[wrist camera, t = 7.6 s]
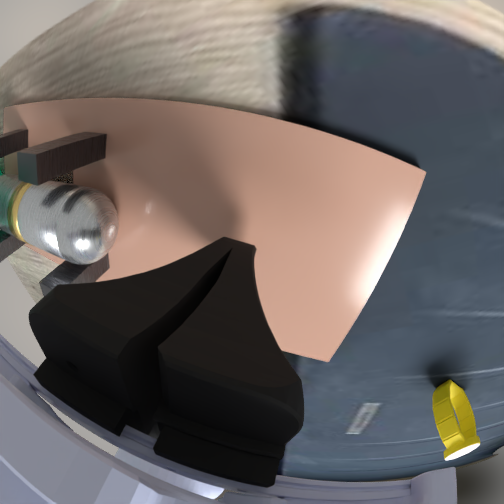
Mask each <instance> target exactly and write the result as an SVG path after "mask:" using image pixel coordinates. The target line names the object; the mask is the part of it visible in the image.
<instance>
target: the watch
mask: <svg viewBox="0 0 504 504" xmlns="http://www.w3.org/2000/svg"><path fill="white" fill-rule="evenodd" d="M452 405H453V406H452ZM453 407H454V409H455V412H456V415H457V418H458V421H459V425H458V422H457V420H456V417H455V415H454V410H453ZM433 412H434V417H435V423H436V424H437V425H436V426H437V429H438V432H439V434H440V437H441V440H443V441H442V442H443V443H444V445H445V446H446V448H447V449H446V450H445V451H444V459H445V460H451V459H454V458H457V457H460V456H462V455H465V454H467V453H469V452H470V451H472V450H474V449H475V448H477V447H478V446H479V445H480V439H479V436H476V424H475V419H474V415H473V411H472V408H471V405H470V402H469V401H468V398H467V396H466V394H465V392H464V390H463V388H460V387H459V386H458V385H456V384H455V383H454V382H453V381H452V380H448V381H446V382H445V383H443V384H442V385H440V386H439V387H437V388H436V390H435V391H434V393H433ZM459 426H460V428H459Z"/></svg>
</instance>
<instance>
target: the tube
mask: <svg viewBox="0 0 504 504" xmlns="http://www.w3.org/2000/svg"><path fill="white" fill-rule="evenodd" d="M0 229H1V230H3V231H5V232H7V233H9V234H10V235H12V236H14V237H16V238H17V239H19V240H21V241H23V242H25V243H27V244H29V245H32V246H35V247H37V248H39V249H42V250H44V251H46V252H48V253H50V254H53V255H55V256H57V257H59V258H62V259H64V260H66V261H69V262H71V263H75V264H80V265H83V264H91V263H94V262H96V261H98V260H100V259H101V258H103V257H104V256H105V255H106V254H107V253H108V252H109V251H110V250H111V248H112V247H113V245H114V243H115V241H116V239H117V235H118V230H119V221H118V214H117V211H116V209H115V206H114V204H113V203H112V201H111V200H110V199H109V198H108V197H107V195H105V194H104V193H103V192H101V191H99V190H97V189H94V188H91V187H86V186H81V185H75V184H69V183H64V182H58V181H52V180H50V181H47V182H45V183H43V184H41V185H39V186H37V185H33V184H30V183H26V182H23V181H19V177H18V175H15V174H3V175H1V176H0Z"/></svg>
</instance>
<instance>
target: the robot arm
mask: <svg viewBox="0 0 504 504" xmlns="http://www.w3.org/2000/svg"><path fill="white" fill-rule="evenodd" d="M256 250H257V249H256V247H255V245H252V244H248V243H245V242H241V241H238V240H235V239H231V238H228V237H222V238H220V239H218V240H216V241H214V242H212V243H211V244H209V245H207V246H205V247H203V248H201V249H199V250H198V251H196V252H194V253H192V254H190V255H187V256H185V257H183V258H181V259H179V260H176V261H174V262H172V263H169V264H167V265H164V266H162V267H159V268H156V269H153V270H150V271H146V272H143V273H139V274H135V275H131V276H127V277H123V278H118V279H112V280H107V281H99V282H91V283H79V284H58V285H56V286H55V287H54V288H53V289H52V290H51V291H50V292H49V293H48V294H47V295H46V296H44V297H43V298H42V299H41V300H40V301H39V302H38V303H37V304H36V305H35V306H34V307H33V308H32V309H31V310H30V312H29V322H30V326H31V329H32V331H33V333H34V335H35V337H36V339H37V341H38V343H39V345H40V347H41V349H42V350H43V352H44V354H45V356H46V359H45V360H44V362H43V363H42V364H41V365H40V367H39V368H38V367H36V366H35V365H34V364H33V363H31V362H30V361H29V360H28V359H27V358H26V357H24V356H23V355H22V354H21V353H20V352H19V351H18V350H17V349H15V348H14V347H13V346H12V345H11V344H10V343H9V342H8V341H7V340H6V339H5V338H4V337H3V336H2V335H1V334H0V504H457V487H456V486H457V485H456V469H455V467H451V468H445V469H439V470H433V471H429V472H426V473H423V474H421V475H418V476H416V477H414V478H413V479H412V480H402V481H389V482H333V481H319V480H309V479H300V478H293V477H286V476H280V475H277V470H278V466H279V461H280V460H281V459H282V458H283V456H284V451H285V445H286V444H287V443H288V442H289V441H290V440H291V439H292V438H293V437H294V436H295V435H296V434H297V433H298V432H299V431H300V430H301V428H302V426H303V421H304V398H303V389H302V382H301V379H300V378H299V376H298V375H297V374H296V372H295V371H294V369H293V368H292V367H291V365H290V364H289V362H288V361H287V359H286V357H285V356H284V354H283V352H282V351H281V349H280V347H279V345H278V343H277V341H276V339H275V337H274V335H273V333H272V331H271V329H270V327H269V325H268V322H267V320H266V317H265V314H264V311H263V308H262V305H261V302H260V298H259V294H258V289H257V284H256V278H255V268H254V258H255V254H256ZM36 392H37V393H38V394H39V395H40V396H41V397H43V398H44V399H45V400H47V401H48V402H49V403H50V404H52V405H53V406H54V407H56V408H57V409H58V410H60V411H61V412H62V413H64V414H65V415H67V416H68V417H69V418H71V419H72V420H74V421H75V422H77V423H78V424H80V425H81V426H83V427H85V428H86V429H88V430H89V431H91V432H92V433H94V434H96V435H97V436H99V437H101V438H103V439H104V440H106V441H108V442H109V443H111V444H113V445H115V446H117V447H119V449H118V451H117V453H116V455H115V456H112V455H110V454H109V453H107V452H105V451H104V450H102V449H100V448H98V447H97V446H95V445H93V444H92V443H90V442H89V441H87V440H86V439H84V438H82V437H81V436H79V435H78V434H76V433H75V432H73V430H72V429H71V428H70V427H69V426H67V425H66V424H65V423H64V422H63V421H62V420H61V419H60V418H59V417H58V416H57V415H56V413H55V412H54V411H53V409H52V408H51V407H50V405H48V404H47V403H46V402H45V401H44V400H43V399H42V398H41V397H40V396H39V395H38V394H37V393H36ZM224 489H227V490H231V491H236V492H240V493H235V492H226V493H225V494H224V497H222V498H219V499H218V501H217V500H214V499H215V498H216V497H218V496H219V495H220V494H221V493H222V492H223V490H224ZM242 493H244V494H242Z"/></svg>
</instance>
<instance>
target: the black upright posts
mask: <svg viewBox="0 0 504 504" xmlns="http://www.w3.org/2000/svg"><path fill="white" fill-rule="evenodd" d="M106 139H107V134H105V133H94V132H81V133H77V134H73V135H69V136H66V137H62V138H58V139H55V140H52V141H48V142H45V143H42V144H39V145H36V146H33V147H30V148H28V129H17V130H14V131H11V132H7V133H4V134H1V135H0V158H2V157H4V156H7V155H9V154H12V153H14V152H17V151H18V152H17V163H18V177H19V181H23V182H26V183H30V184H33V185H37V186H39V185H41V184H43V183H45V182H47V181H50V180H52V179H54V178H56V177H59V176H61V175H63V174H66V173H68V172H70V171H73V170H75V169H78V168H80V167H83V166H85V165H88V164H91V163H93V162H96V161H99V160H102V159H104V158H106ZM25 148H27V149H25ZM23 149H24V150H23ZM20 150H21V151H20ZM24 244H26V243H25V242H23V241H21V240H19V239H17V238H16V237H14V236H12V235H10V234H9V233H7V232H5V231H3V230H0V262H1V261H2V260H4V259H5V258H6V257H8V256H9V255H10V254H12V253H13V252H14V251H16V250H17V249H19V248H20V247H21V246H23V245H24ZM109 268H110V265H109V255H108V253H107V254H106V255H105V256H104V257H103V258H101V259H100V260H98V261H96V262H94V263H91V264H83V265H80V264H75V263H71V262H69V261H66V260H65V261H64V262H63V263H62V264H60V265H59V266H58V267H57V268H55V269H54V270H53V271H52V272H51V273H49V274H48V275H47V276H46V277H45V278H43V279H42V280H41V281H40V282H39V283H40V286H41V289H42V292H43V295H44V296H46V295H47V294H48V293H49V292H50V291H51V290H52V289H53V288H54V287H55V286H56V285H58V284H79V283H91V282H95V281H97V280H98V279H99V278H100V277H101V276H102V275H103V274H104V273H105V272H106V271H107V270H108V269H109Z"/></svg>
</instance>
